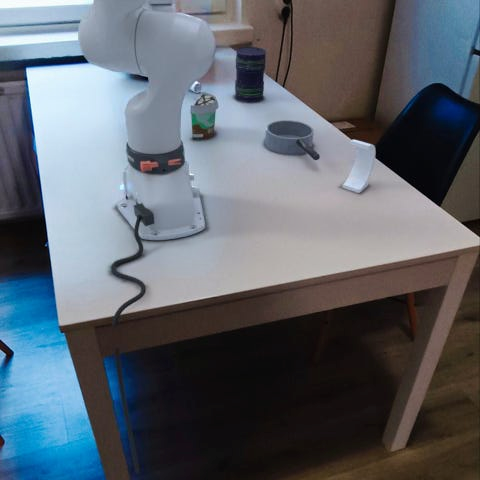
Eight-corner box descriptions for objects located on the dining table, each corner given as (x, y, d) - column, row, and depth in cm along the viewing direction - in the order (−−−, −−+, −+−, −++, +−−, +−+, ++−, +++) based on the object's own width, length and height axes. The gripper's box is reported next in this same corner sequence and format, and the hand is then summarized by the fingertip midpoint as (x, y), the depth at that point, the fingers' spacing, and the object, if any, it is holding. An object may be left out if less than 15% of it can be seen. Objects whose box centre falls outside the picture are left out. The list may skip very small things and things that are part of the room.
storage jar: (247, 104, 162) (250, 46, 151) (228, 96, 168) (229, 39, 157) (269, 98, 168) (273, 41, 156) (250, 90, 173) (252, 35, 162)
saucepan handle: (320, 161, 125) (321, 154, 124) (314, 162, 125) (315, 155, 124) (300, 142, 134) (301, 136, 133) (294, 143, 133) (295, 137, 132)
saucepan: (319, 151, 136) (322, 135, 133) (276, 157, 132) (277, 141, 130) (299, 133, 146) (301, 118, 143) (258, 138, 142) (259, 122, 139)
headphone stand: (341, 187, 121) (350, 140, 113) (352, 178, 124) (361, 132, 117) (359, 193, 119) (369, 146, 111) (369, 184, 122) (379, 137, 115)
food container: (212, 144, 138) (212, 108, 131) (191, 141, 138) (190, 106, 132) (222, 127, 147) (222, 93, 141) (202, 125, 148) (202, 91, 141)
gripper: (131, -18, 122) (136, 42, 131) (149, -3, 107) (154, 64, 116) (156, -19, 124) (160, 41, 133) (177, -4, 109) (179, 62, 118)
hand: (157, 52), depth 124 cm, fingers open, 6 cm apart
